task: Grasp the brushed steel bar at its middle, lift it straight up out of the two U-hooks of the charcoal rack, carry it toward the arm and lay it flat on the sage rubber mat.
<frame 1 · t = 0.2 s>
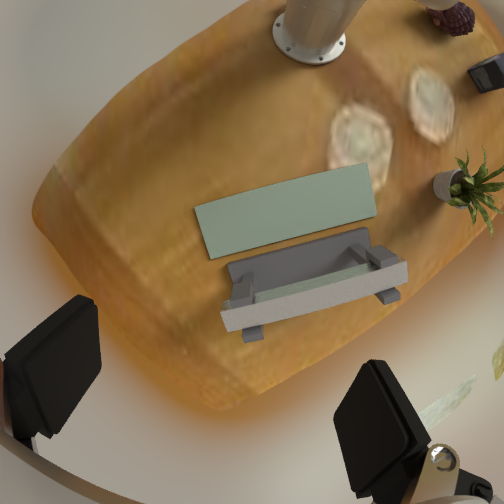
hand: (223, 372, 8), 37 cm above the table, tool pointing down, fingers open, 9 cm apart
house plant: (442, 179, 41), on the table
hook rack: (302, 261, 46), on the table
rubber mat: (289, 209, 43), on the table
pine cone: (442, 23, 30), on the table
small box: (481, 75, 33), on the table
steel rail: (315, 288, 34), point 11 cm above the table, touching hook rack
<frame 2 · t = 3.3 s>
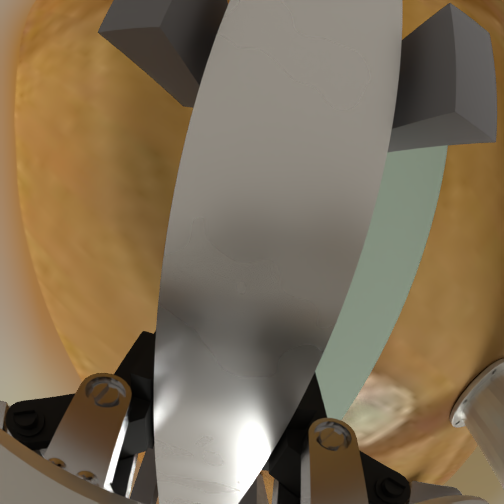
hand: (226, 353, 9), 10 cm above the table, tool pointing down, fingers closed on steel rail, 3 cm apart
house plant: (252, 478, 28), on the table
hook rack: (241, 264, 19), on the table
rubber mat: (356, 289, 20), on the table
steel rail: (224, 372, 8), point 12 cm above the table, touching gripper, hook rack
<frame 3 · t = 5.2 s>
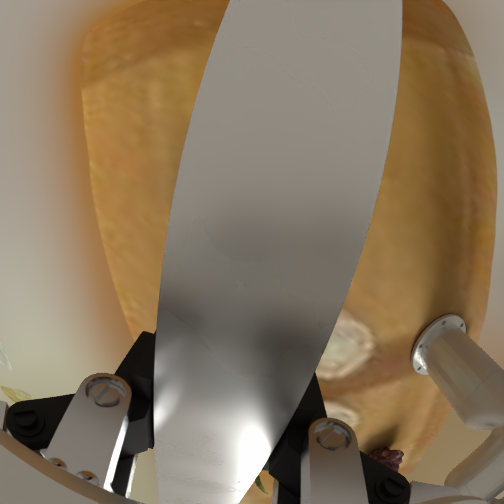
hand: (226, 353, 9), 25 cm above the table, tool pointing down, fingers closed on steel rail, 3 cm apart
pine cone: (374, 454, 48), on the table
steel rail: (224, 372, 8), point 26 cm above the table, touching gripper
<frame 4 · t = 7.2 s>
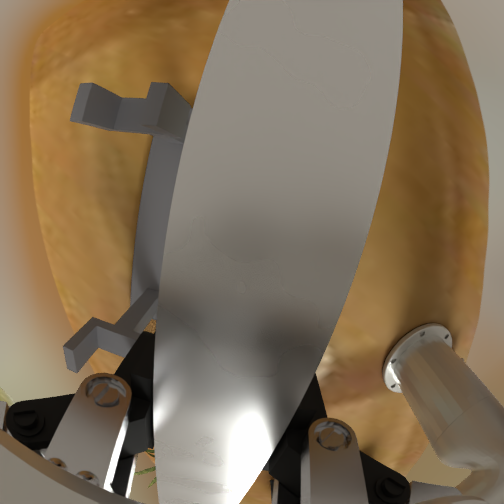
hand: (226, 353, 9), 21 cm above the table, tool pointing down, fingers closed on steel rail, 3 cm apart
hook rack: (168, 218, 29), on the table
steel rail: (224, 372, 8), point 22 cm above the table, touching gripper
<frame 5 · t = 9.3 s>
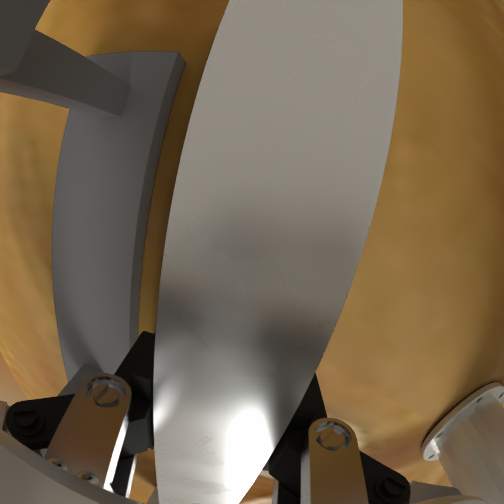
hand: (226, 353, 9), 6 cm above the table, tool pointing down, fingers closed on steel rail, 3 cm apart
house plant: (185, 494, 23), on the table
hook rack: (100, 255, 15), on the table
steel rail: (224, 372, 8), point 7 cm above the table, touching gripper
when the fingers open (1 cm above the table, at t = 11.1 s): steel rail drops 2 cm, resting on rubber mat.
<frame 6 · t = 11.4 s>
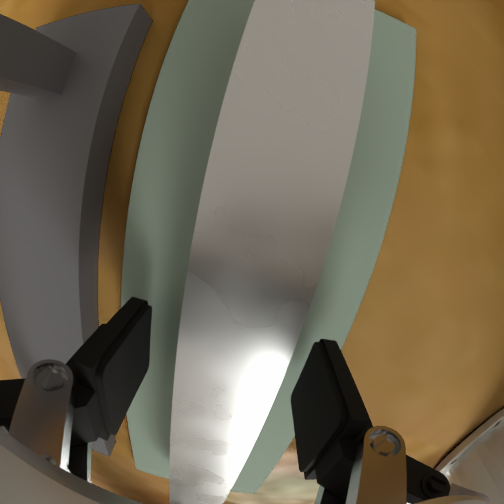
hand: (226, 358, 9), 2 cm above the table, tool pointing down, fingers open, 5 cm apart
hook rack: (49, 278, 10), on the table
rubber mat: (230, 333, 11), on the table
steel rail: (230, 341, 10), point 1 cm above the table, touching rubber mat
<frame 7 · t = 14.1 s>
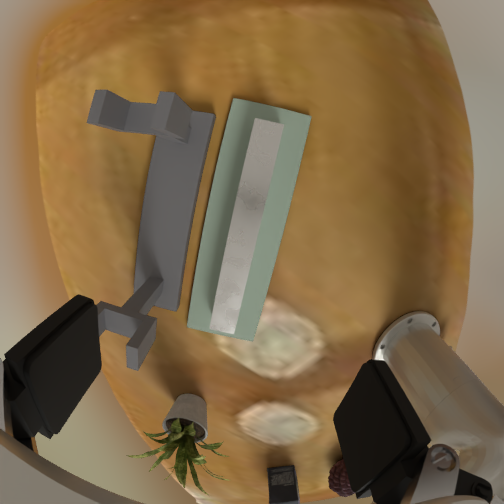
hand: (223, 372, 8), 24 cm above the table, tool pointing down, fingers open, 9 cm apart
house plant: (198, 406, 40), on the table
hook rack: (169, 211, 31), on the table
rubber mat: (243, 227, 32), on the table
pine cone: (344, 461, 46), on the table
small box: (282, 474, 47), on the table
steel rail: (244, 228, 31), point 1 cm above the table, touching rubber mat
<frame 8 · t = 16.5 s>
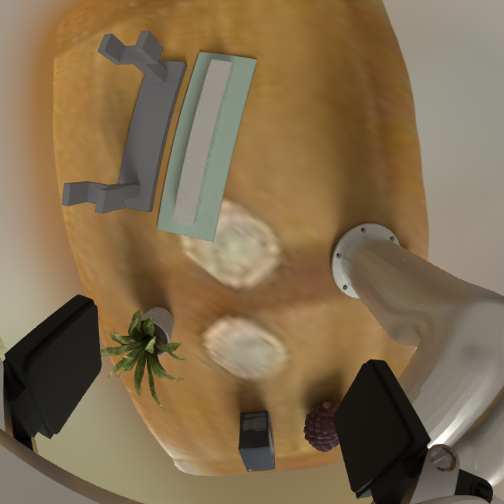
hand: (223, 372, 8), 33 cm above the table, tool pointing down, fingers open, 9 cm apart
house plant: (167, 323, 46), on the table
hook rack: (149, 132, 37), on the table
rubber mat: (204, 140, 37), on the table
pine cone: (322, 411, 51), on the table
small box: (257, 424, 53), on the table
steel rail: (204, 140, 37), point 1 cm above the table, touching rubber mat
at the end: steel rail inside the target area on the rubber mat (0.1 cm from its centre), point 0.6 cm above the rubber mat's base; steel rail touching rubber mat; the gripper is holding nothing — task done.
